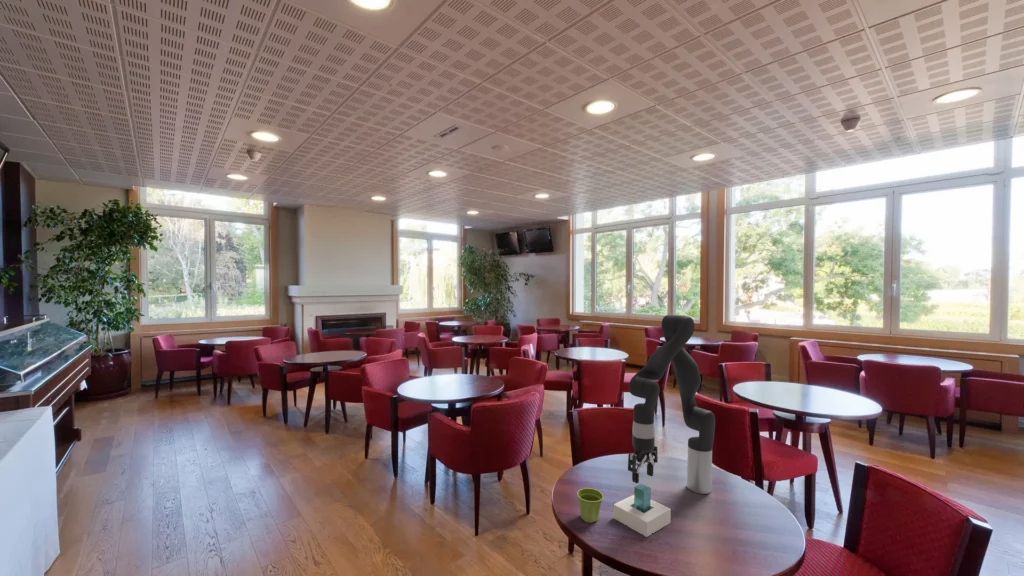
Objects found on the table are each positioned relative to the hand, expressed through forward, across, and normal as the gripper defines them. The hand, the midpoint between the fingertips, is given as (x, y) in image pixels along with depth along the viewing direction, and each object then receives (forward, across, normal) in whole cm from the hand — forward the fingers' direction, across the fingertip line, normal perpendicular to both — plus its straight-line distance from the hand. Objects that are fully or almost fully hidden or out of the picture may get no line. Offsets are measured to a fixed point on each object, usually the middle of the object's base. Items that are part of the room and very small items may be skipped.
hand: (642, 478), depth 152 cm
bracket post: (+15, 0, 0) cm, 15 cm away
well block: (+15, 0, 0) cm, 15 cm away
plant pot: (+15, +14, -12) cm, 24 cm away
